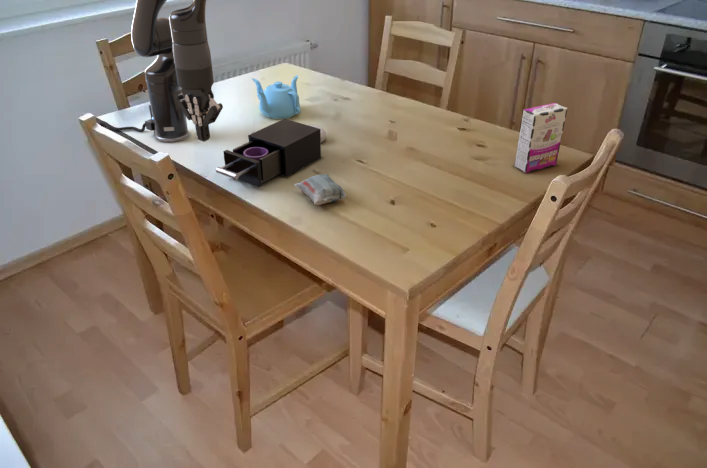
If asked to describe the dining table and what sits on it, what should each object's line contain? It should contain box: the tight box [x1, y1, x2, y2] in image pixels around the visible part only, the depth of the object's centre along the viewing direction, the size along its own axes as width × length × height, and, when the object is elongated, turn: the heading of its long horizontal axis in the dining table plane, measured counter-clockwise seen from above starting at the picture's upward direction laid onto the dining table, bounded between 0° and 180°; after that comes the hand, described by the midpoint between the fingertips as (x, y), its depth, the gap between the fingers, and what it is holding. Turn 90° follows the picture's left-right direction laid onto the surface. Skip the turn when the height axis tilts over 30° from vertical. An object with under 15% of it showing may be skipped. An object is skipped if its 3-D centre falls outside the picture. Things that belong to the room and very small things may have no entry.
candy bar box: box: [514, 102, 569, 174], centre depth 155 cm, size 11×5×16 cm, turn 117°
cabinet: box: [247, 118, 322, 178], centre depth 157 cm, size 15×13×9 cm
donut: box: [307, 124, 327, 143], centre depth 171 cm, size 10×4×10 cm
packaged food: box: [293, 173, 348, 206], centre depth 141 cm, size 9×12×5 cm
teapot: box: [251, 75, 302, 120], centre depth 186 cm, size 15×15×10 cm
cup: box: [243, 147, 268, 161], centre depth 149 cm, size 6×6×5 cm
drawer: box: [215, 140, 284, 189], centre depth 148 cm, size 19×11×7 cm, turn 145°
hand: (203, 139), depth 132 cm, fingers closed
